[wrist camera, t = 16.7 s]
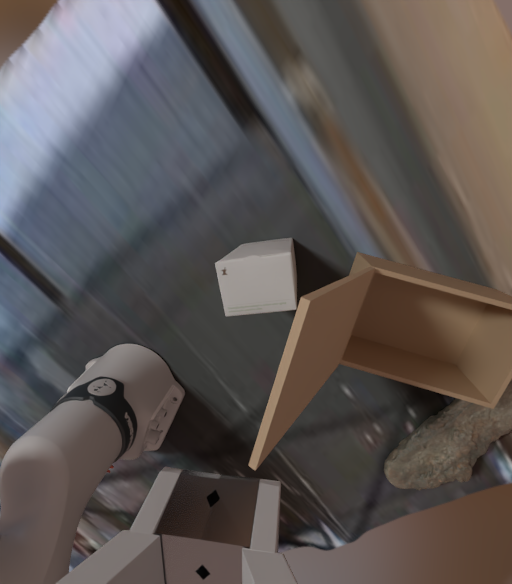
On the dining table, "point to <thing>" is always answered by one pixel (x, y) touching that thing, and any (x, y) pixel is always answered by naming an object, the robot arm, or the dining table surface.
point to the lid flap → (310, 355)
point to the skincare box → (259, 278)
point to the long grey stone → (448, 444)
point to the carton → (432, 332)
